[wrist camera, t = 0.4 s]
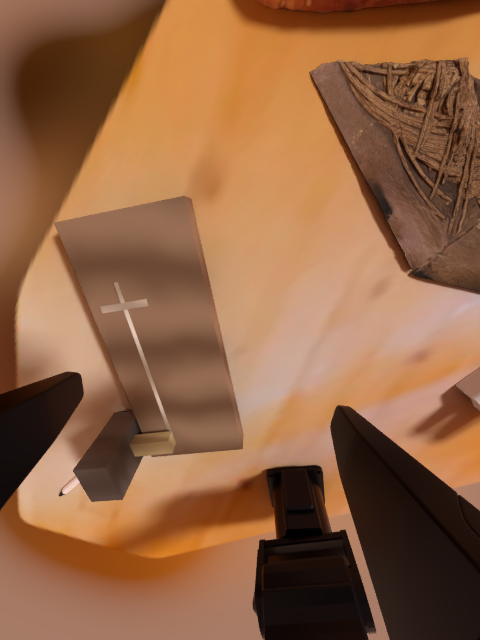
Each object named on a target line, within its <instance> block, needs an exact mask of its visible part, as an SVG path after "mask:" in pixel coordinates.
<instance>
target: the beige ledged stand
mask: <svg viewBox="0 0 480 640" xmlns="http://www.w3.org/2000/svg"><path fill="white" fill-rule="evenodd" d="M455 385H456V387H457V388H458V389H459V390H461V391H462V392H463V393H464V394H466V395H467V396H468V397H469V398H470V399H471V400H472V403H473V406H474V407H475V408H477V410H478V411H480V368H478V369H477V370H475V371H474V372H473V373H471V374H470V375H468V376H467V377H465V378H464V379H463V380H461V381H460V382H458V383H457V384H455Z"/></svg>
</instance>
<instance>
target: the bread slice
mask: <svg viewBox="0 0 480 640" xmlns="http://www.w3.org/2000/svg"><path fill="white" fill-rule="evenodd" d="M256 1H257V2H258V3H260V4H262V5H264V6H266V7H269V8H271V9H279V8H287V9H290V10H294V11H312V12H315V13H320V14H323V13H328V12H331V11H348V12H353V11H356V10H359V9H362V8H366V7H385V6H389V5H394V4H411V3H421V2H430V1H437V0H256Z"/></svg>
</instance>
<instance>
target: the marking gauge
mask: <svg viewBox="0 0 480 640" xmlns="http://www.w3.org/2000/svg"><path fill="white" fill-rule="evenodd" d="M175 445H176V441H175V439H174V436H173V433H172V431H168V432H158V433H148V434H142V432H141V429H140V427H139V425H138V422H137V420H136V417H135V415H134V413H133V411H127V412H118V413H114V415H113V416H112V417H111V419H110V420H109V422H108V423H107V424H106V426H105V427H104V428H103V430H102V431H101V433H100V434H99V435H98V437H97V438H96V439H95V441H94V442H93V444H92V445H91V446H90V448H89V449H88V450H87V452H86V453H85V455H84V456H83V457H82V459H81V460H80V461H79V463H78V464H77V466H76V467H75V468H74V470H73V472H74V473H75V475H76V477H77V479H78V480H79V482H80V484H81V485H82V487H83V489H84V490H85V492H86V494H87V495H88V497H89V499H90V500H91V502H95V501H110V500H123V498H124V496H125V493H126V491H127V489H128V487H129V485H130V483H131V481H132V479H133V476H134V474H135V472H136V470H137V468H138V466H139V464H140V462H141V459H142V457H143V456H148V455H159V454H170V453H173V450H174V447H175Z"/></svg>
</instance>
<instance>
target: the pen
mask: <svg viewBox="0 0 480 640" xmlns="http://www.w3.org/2000/svg"><path fill="white" fill-rule="evenodd" d="M78 483H79V480H78V479H77V477H75V478H73V479H72V480H71V481H70V482H69V483H68V484H67V485H66V486H65V487H64V488H63V489H62V491H61V493H60V494H59V496H62V495H64V494H67V493H68V492H69V491H70V490H71V489H72V488H73V487H75V486H76V485H77V484H78Z"/></svg>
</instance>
